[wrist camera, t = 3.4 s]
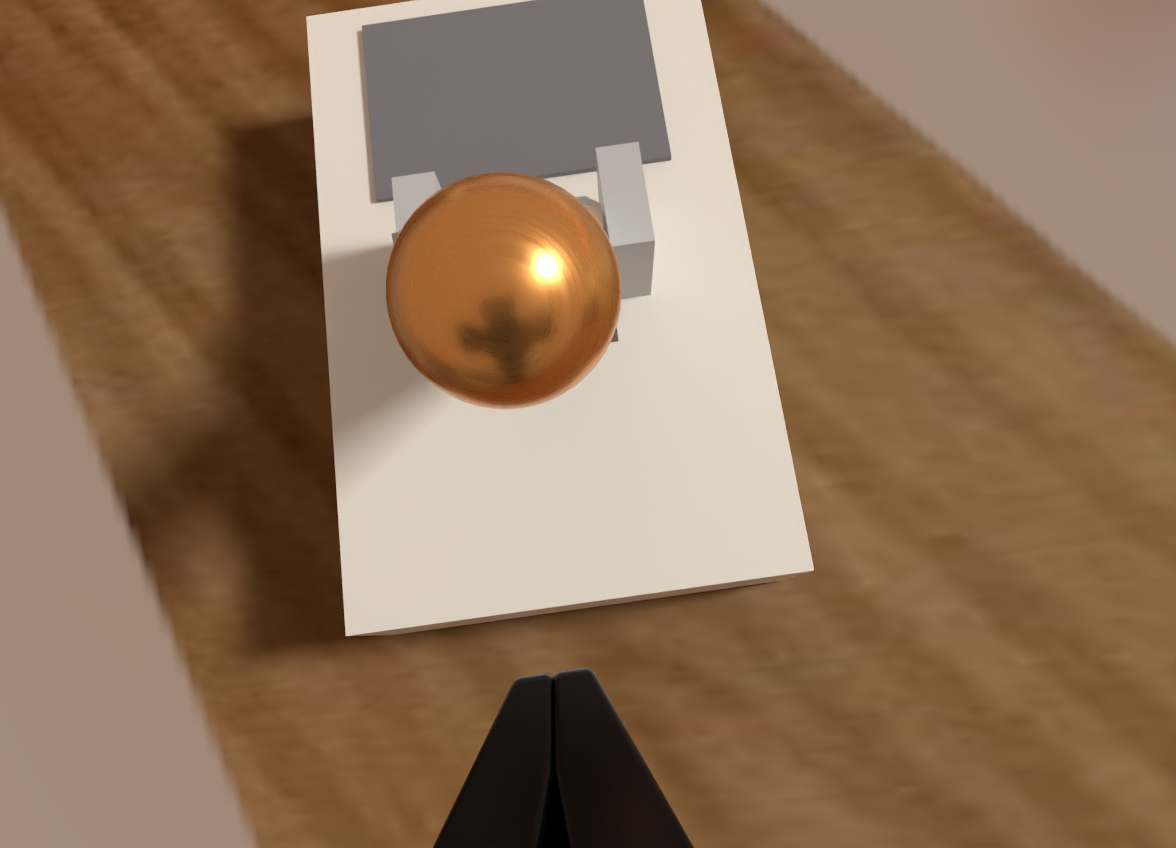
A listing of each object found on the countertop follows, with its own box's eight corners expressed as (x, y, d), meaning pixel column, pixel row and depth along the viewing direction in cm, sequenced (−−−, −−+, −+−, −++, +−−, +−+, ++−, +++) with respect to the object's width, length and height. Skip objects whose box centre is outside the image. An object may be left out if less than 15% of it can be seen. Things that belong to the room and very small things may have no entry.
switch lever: (602, 297, 18) (645, 418, 8) (479, 314, 18) (391, 455, 8) (585, 168, 17) (611, 150, 8) (457, 186, 17) (334, 190, 8)
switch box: (780, 580, 19) (848, 559, 13) (394, 635, 19) (295, 637, 14) (682, 59, 23) (701, -137, 17) (354, 107, 23) (260, -72, 17)
